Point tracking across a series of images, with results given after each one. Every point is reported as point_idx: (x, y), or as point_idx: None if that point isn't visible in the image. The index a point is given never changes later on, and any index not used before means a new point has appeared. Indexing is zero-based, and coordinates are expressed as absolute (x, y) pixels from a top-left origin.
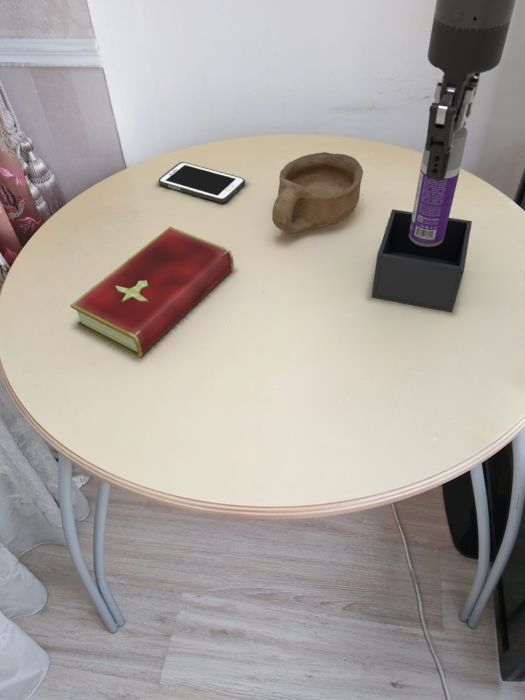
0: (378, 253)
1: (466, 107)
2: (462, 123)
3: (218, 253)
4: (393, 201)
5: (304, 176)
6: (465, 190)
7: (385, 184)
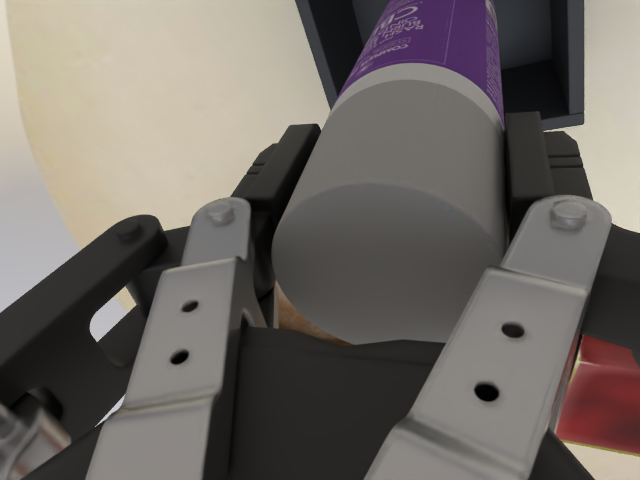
0: (576, 124)
1: (501, 431)
2: (528, 307)
3: (594, 371)
4: (202, 154)
5: (285, 322)
6: (52, 28)
7: (166, 187)
